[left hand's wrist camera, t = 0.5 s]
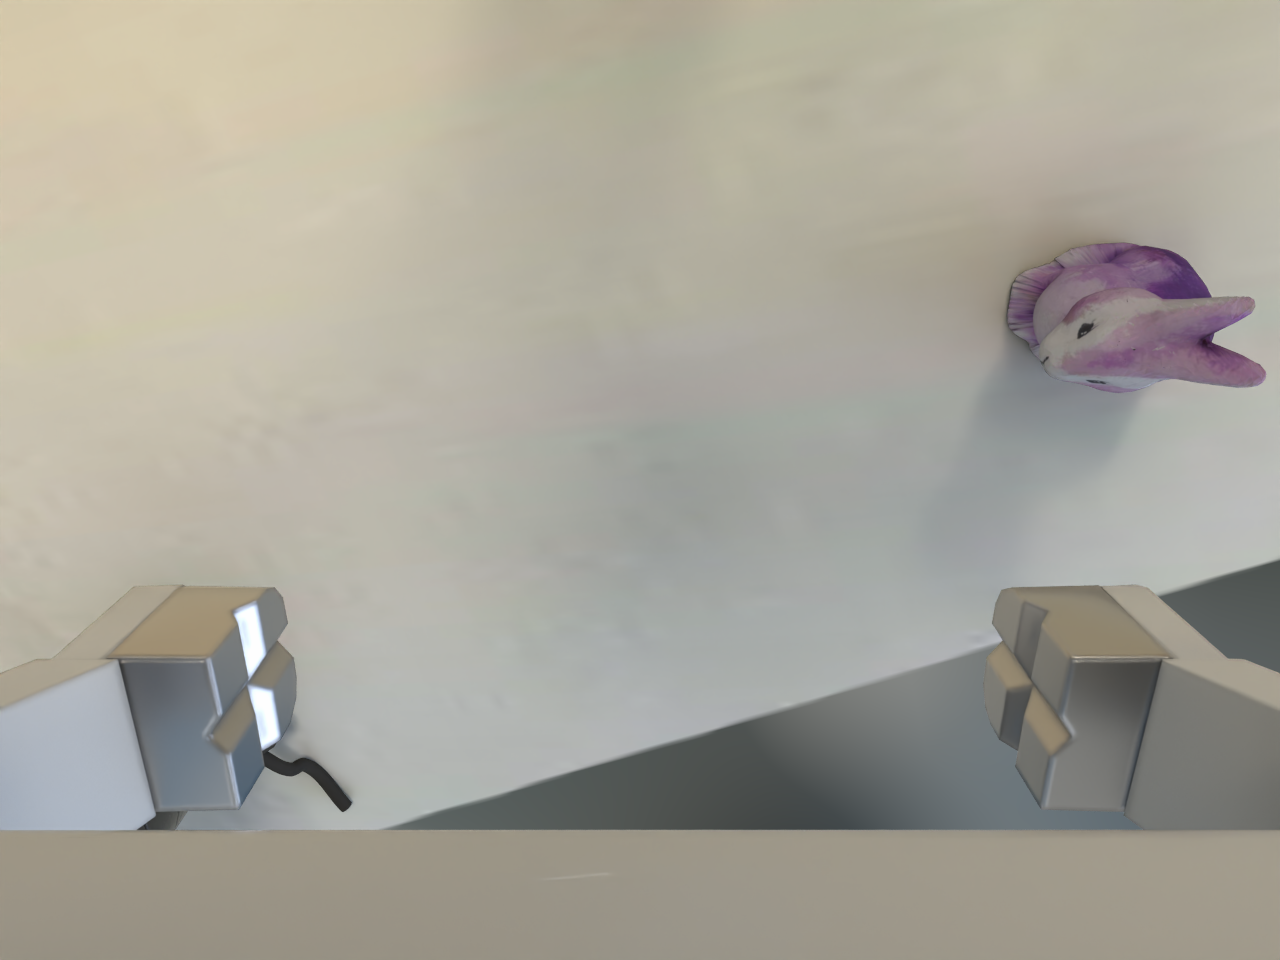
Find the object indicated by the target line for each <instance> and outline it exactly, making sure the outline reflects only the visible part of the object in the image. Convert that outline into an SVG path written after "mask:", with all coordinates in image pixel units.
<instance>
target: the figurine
mask: <svg viewBox="0 0 1280 960" xmlns="http://www.w3.org/2000/svg"><path fill="white" fill-rule="evenodd" d="M1011 294H1012V295H1011V296H1010V298H1011V300H1010V301H1009V302H1010V304H1009V305H1008V306H1009V309H1008V314H1007V316H1008V320H1007V321H1008V323H1009V324H1008V325H1009V328H1010V329H1011V330H1012V332H1013V333H1014V334H1015V335H1017V336H1019V337H1020V338H1022V339H1024V340H1026V341H1027V342H1028V343H1029V347H1030V349H1031V352H1032V353H1033V354H1034V355H1035V356H1036V357H1037V358H1038V359H1040V361H1041V363H1042V365H1043V367H1044V369H1045V371H1046V373H1047V374H1048V375H1049V376H1051V377H1053V378H1056V379H1058V380H1062V381H1068V382H1074V383H1079V384H1083V385H1087V386H1090V387H1093V388H1096V389H1099V390H1103V391H1108V392H1115V393H1123V392H1132V391H1135V390H1139V389H1142V388H1145V387H1148V386H1150V385H1152V384H1154V383H1156V382H1159V381H1162V380H1167V379H1180V380H1186V381H1190V382H1197V383H1203V384H1211V385H1219V386H1227V387H1235V388H1243V387H1253V386H1258V385H1259V384H1261V383H1262V382H1263V381H1264V380H1265V378H1266V371H1265V370H1264V369H1263V368H1262V367H1261V365H1260V364H1257V363H1255V362H1253V361H1252V360H1250V359H1248V358H1246V357H1245V356H1243V355H1240V354H1238V353H1236V352H1233V351H1231V350H1228V349H1226V348H1223V347H1221V346H1219V345H1216V344H1214V343H1212V339H1213V336H1214V333H1215V332H1217V331H1219V330H1221V329H1223V328H1225V327H1227V326H1229V325H1231V324H1233V323H1235V322H1237V321H1239V320H1241V319H1242V318H1244V317H1246V316H1248V315H1249V314H1251V313H1252V311H1253V309H1254V308H1255V302H1254V300H1253V299H1252V298H1250V297H1213V298H1212V297H1211V295H1210V293H1209V291H1208V289H1207V287H1206V285H1205V284H1204V282H1203V281H1202V280H1201V278H1200V277H1199V276H1198V274H1197V273H1196V272H1195V270H1194V269H1193V268H1192V267H1191V265H1190V264H1189V263H1188V262H1187V260H1185V259H1184V258H1182V257H1181V256H1179V255H1178V254H1176V253H1174V252H1172V251H1169V250H1166V249H1160V248H1155V247H1149V246H1139V245H1135V244H1130V243H1110V244H1094V245H1087V246H1084V247H1078V248H1075V249H1070V250H1069V251H1067V252H1066V253H1064V254H1062V255H1060V256H1059V257H1057V258H1055V260H1054V261H1052V262H1051V263H1050V264H1045V265H1043V266H1039V267H1036V268H1032V269H1030V270H1027V271H1025V272H1023V273H1021V274H1020V275H1018V276H1017V277H1016V280H1015V282H1014V283H1013V287H1012V292H1011Z"/></svg>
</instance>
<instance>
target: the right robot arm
mask: <svg viewBox="0 0 1280 960" xmlns="http://www.w3.org/2000/svg"><path fill="white" fill-rule="evenodd" d="M276 743H277V742H276ZM276 743H274V744H273V745H271V746H269V747H268V748H266V749H265V750H263V751H262V754H263V760H264V765H265V767H267V768H269V769H270V770H272V771H274V772H276V773H279V774H281V775H285V776H294V775H297V774H299V773H300V772H302V771H303V772H306V773H307V774H309V775H310V776H311V777H313V778H314V779H315V780H316V781H317V782H318V783H319V785H320V786H321V787H322V788H323V790H324V791H325V792H326V793H327V795H328V796H329V797H330V799H331V800H332V801H333V802H334V804H335V805H336V806H337V807H338V808H339V809H340V810H341V811H342V812H344V811H346V810H347V809H348V808H349V807H350V806H351V803H352V802H351V801H350V800H349V799H348V798H347V797H346V795H345V794H344V793H343V792H342V791H341V789H340V788H339V787H338V785H337V784H336V783H335V781H334V780H333V779H332V778H331V776H330V775H329V774H328V773H327V772H326V771H325V770H324V769H323V768H322V767H321V766H319V765H318V764H317V763H315V762H313V761H311V760H309V759H306V758H300V759H298V760H296V761H294V762H293V763H290V762H286V761H283V760H281V759H279V758H278V757H276V756H274V755H273V754H271V753H270V752H268V751H269V750H270V749H272V748H273V747H274V746H275V744H276ZM187 812H188V811H167V812H156V816H155V817H154V818H152V819H151V820H149V821H148V822H147V823H145V824H144V825H143V826H141V827H140V828H138V829H137V830H175V829H176V828H177V826H178V825H179V824H180V822H181V821H182V819H183V818H184V816H185V815H186V813H187Z"/></svg>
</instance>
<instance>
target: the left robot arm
mask: <svg viewBox="0 0 1280 960" xmlns="http://www.w3.org/2000/svg"><path fill="white" fill-rule="evenodd" d="M287 624H288V621H287V616H286V611H285V606H284V601H283V597H282V596H281V594H280V593H279V592H278V591H277V590H276V588H275V587H221V586H184V585H161V586H138V587H133V588H132V589H131V590H130V591H128V592H127V593H126V594H125V595H124V596H123V597H122V598H120V599H119V600H118V601H117V602H116V603H115V604H114V605H113V606H111V607H110V608H109V609H108V610H107V611H106V612H105V613H103V614H102V615H101V616H100V617H99V618H98V619H97V620H96V621H94V622H93V623H92V624H91V625H90V626H89V627H88V628H86V629H85V630H84V631H83V632H82V633H81V634H80V635H79V636H77V637H76V638H75V639H74V640H73V641H72V642H71V643H69V644H68V645H67V646H66V647H65V648H64V649H63V650H62V651H60V652H59V653H58V654H57V655H56V656H55V657H54V658H52V659H36V660H33V661H31V662H28V663H26V664H23V665H20V666H18V667H15V668H13V669H10V670H7V671H5V672H2V673H0V960H1280V673H1278V672H1275V671H1272V670H1270V669H1267V668H1265V667H1262V666H1260V665H1257V664H1254V663H1252V662H1249V661H1247V660H1244V659H1228V658H1226V657H1225V656H1224V655H1223V654H1222V653H1221V652H1220V651H1219V650H1217V649H1216V648H1215V647H1214V646H1213V645H1212V644H1211V643H1210V642H1208V641H1207V640H1206V639H1205V638H1204V637H1203V636H1202V635H1200V634H1199V633H1198V632H1197V631H1196V630H1195V629H1194V628H1193V627H1191V626H1190V625H1189V624H1188V623H1187V622H1186V621H1185V620H1184V619H1182V618H1181V617H1180V616H1179V615H1178V614H1177V613H1176V612H1174V611H1173V610H1172V609H1171V608H1170V607H1169V606H1168V605H1167V604H1165V603H1164V602H1163V601H1162V600H1161V599H1160V598H1159V597H1158V596H1156V595H1155V594H1154V593H1153V592H1152V591H1151V590H1150V589H1149V588H1147V587H1143V586H1139V585H1118V586H1099V585H1095V586H1053V587H1012V588H1008V589H1003V590H1001V592H1000V594H999V597H998V599H997V601H996V604H995V609H994V615H993V620H992V624H993V626H994V627H995V629H996V630H997V632H998V633H999V635H1000V637H1001V638H1002V640H1003V641H1002V642H1001V643H1000V644H999V645H998V646H997V647H996V648H995V649H994V650H993V651H992V652H991V653H990V654H989V655H988V656H987V658H986V665H985V673H984V681H983V688H984V698H985V708H986V711H987V714H988V717H989V721H990V724H991V726H992V728H993V729H994V731H995V733H996V735H997V737H998V738H999V740H1001V741H1002V742H1004V743H1006V744H1007V745H1009V746H1011V747H1012V748H1014V749H1016V750H1017V751H1018V754H1017V760H1016V765H1015V767H1016V769H1017V770H1018V772H1019V774H1020V775H1021V777H1022V779H1023V780H1024V782H1025V784H1026V785H1027V787H1028V789H1029V790H1030V792H1031V794H1032V795H1033V797H1034V799H1035V800H1036V802H1037V804H1038V805H1039V807H1040V808H1041V810H1075V811H1112V812H1124V816H1125V817H1127V818H1128V819H1129V820H1131V821H1132V822H1134V823H1135V824H1136V825H1138V826H1139V827H1140V828H1142V829H1143V830H137V829H138V828H140V827H141V826H143V825H144V824H145V823H147V822H148V821H149V820H151V819H152V818H154V817H155V816H156V812H167V811H203V810H239V809H240V807H241V805H242V804H243V802H244V800H245V799H246V797H247V795H248V794H249V792H250V790H251V789H252V787H253V785H254V784H255V782H256V780H257V779H258V777H259V775H260V774H261V772H262V770H263V769H264V767H265V765H264V760H263V754H262V751H263V750H265V749H266V748H268V747H269V746H271V745H273V744H274V743H276V742H278V741H279V740H281V738H282V736H283V735H284V733H285V731H286V729H287V727H288V726H289V724H290V722H291V718H292V713H293V709H294V705H295V701H296V670H295V664H294V658H293V656H292V655H291V654H290V653H289V652H288V651H287V650H286V649H285V648H284V647H283V646H282V645H281V644H280V643H279V642H278V641H277V640H278V638H279V637H280V635H281V633H282V632H283V630H284V629H285V627H286V626H287Z"/></svg>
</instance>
